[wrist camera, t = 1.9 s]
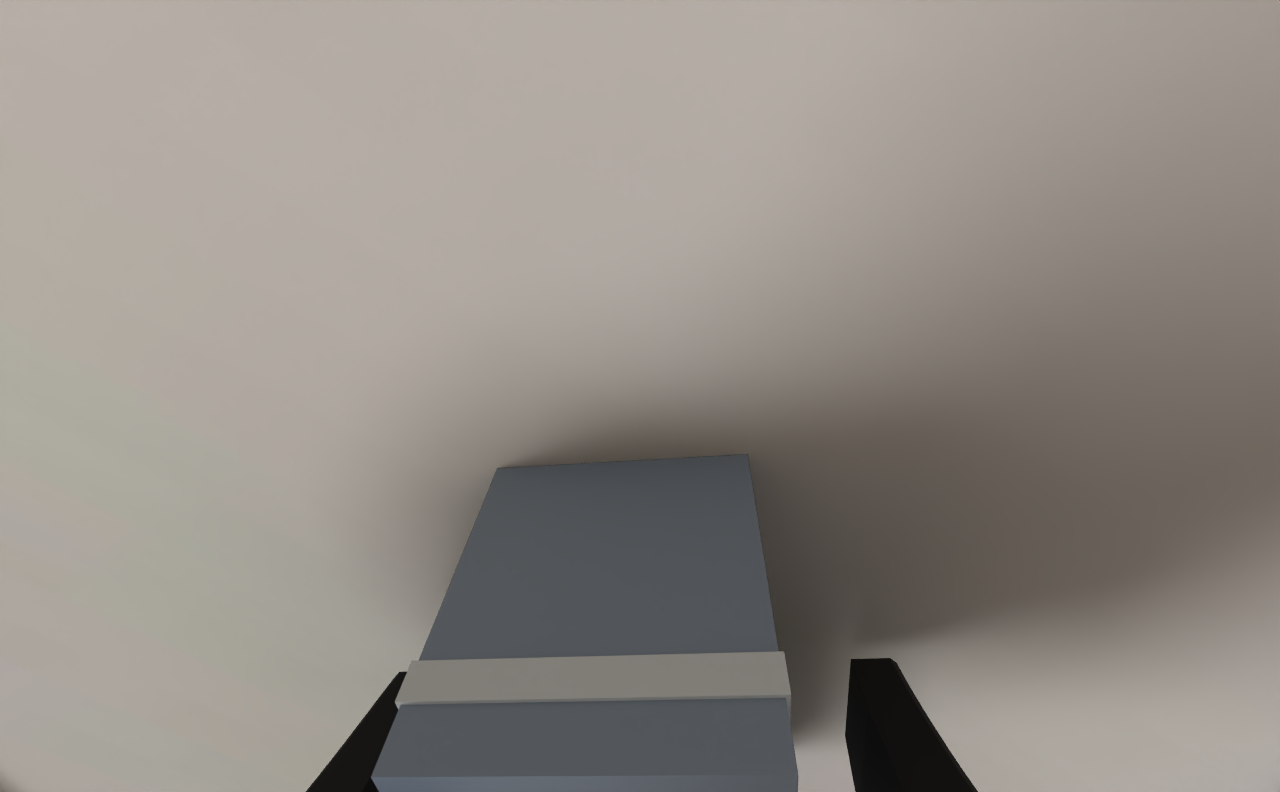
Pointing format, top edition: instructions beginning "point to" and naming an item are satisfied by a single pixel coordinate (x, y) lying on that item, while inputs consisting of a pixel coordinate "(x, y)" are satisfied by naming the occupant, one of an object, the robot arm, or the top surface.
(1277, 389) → the top surface
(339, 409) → the top surface
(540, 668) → the blue-grey lidded box
